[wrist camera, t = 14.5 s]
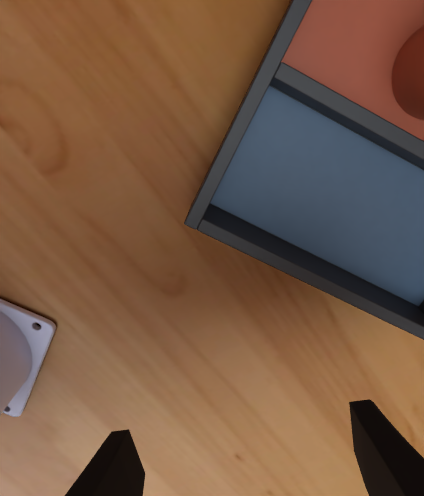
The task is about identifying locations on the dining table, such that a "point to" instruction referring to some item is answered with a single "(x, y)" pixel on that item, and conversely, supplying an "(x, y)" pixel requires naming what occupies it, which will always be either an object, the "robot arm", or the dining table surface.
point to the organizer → (328, 160)
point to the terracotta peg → (410, 75)
